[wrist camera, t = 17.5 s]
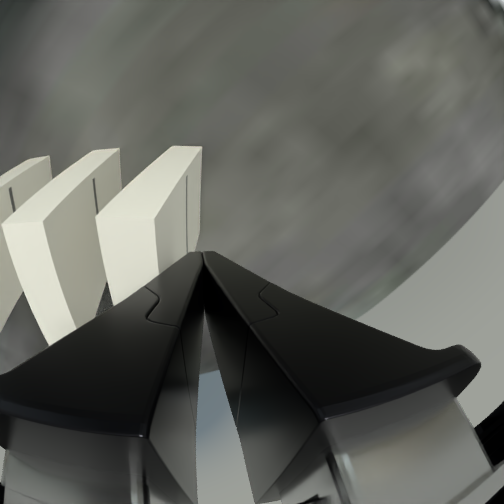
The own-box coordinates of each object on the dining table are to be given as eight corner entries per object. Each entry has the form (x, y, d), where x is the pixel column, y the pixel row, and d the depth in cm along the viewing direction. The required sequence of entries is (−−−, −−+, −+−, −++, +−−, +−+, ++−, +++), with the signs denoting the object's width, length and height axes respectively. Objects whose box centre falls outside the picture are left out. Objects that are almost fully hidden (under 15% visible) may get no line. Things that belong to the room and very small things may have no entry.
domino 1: (42, 233, 15) (-26, 334, 7) (28, 158, 12) (-72, 231, 5) (61, 233, 15) (-3, 339, 8) (49, 155, 13) (-52, 229, 5)
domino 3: (173, 230, 17) (126, 349, 9) (172, 145, 14) (95, 216, 6) (199, 231, 17) (170, 355, 9) (202, 146, 14) (154, 218, 6)
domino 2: (101, 231, 16) (49, 346, 8) (92, 150, 13) (1, 224, 6) (126, 231, 16) (86, 350, 9) (119, 148, 13) (42, 221, 6)
